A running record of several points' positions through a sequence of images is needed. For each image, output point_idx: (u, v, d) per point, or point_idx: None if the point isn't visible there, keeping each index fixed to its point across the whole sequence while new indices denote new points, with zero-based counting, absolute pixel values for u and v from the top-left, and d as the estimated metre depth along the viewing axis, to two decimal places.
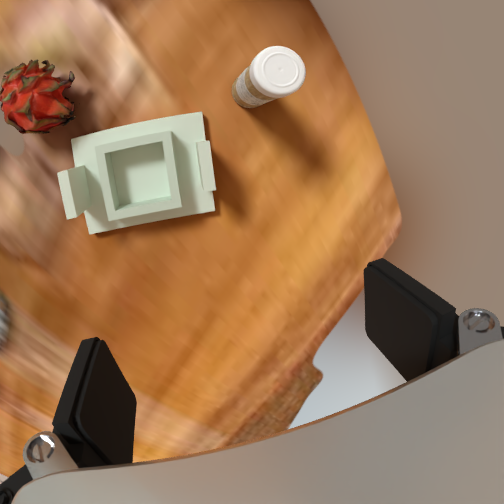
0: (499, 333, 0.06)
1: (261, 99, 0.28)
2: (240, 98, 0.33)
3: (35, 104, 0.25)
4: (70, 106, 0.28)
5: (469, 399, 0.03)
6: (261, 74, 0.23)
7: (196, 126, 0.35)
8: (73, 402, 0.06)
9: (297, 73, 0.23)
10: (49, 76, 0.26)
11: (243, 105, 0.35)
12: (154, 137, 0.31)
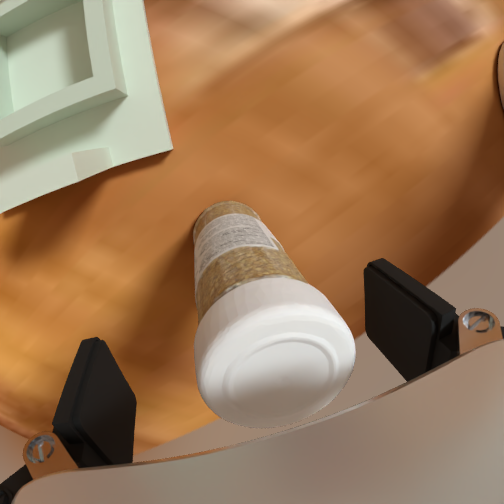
0: (499, 333, 0.06)
1: (196, 293, 0.12)
2: (205, 225, 0.17)
3: None
4: None
5: (469, 399, 0.03)
6: (257, 337, 0.07)
7: (140, 143, 0.16)
8: (73, 402, 0.06)
9: (276, 415, 0.09)
10: None
11: (195, 228, 0.19)
12: (101, 59, 0.12)
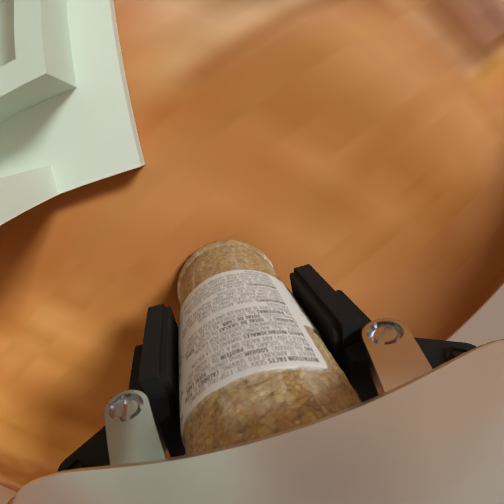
0: (411, 338, 0.07)
1: (182, 435, 0.06)
2: (193, 286, 0.11)
3: None
4: None
5: (469, 399, 0.03)
6: None
7: (94, 158, 0.10)
8: (158, 358, 0.08)
9: None
10: None
11: (180, 281, 0.13)
12: (29, 31, 0.06)
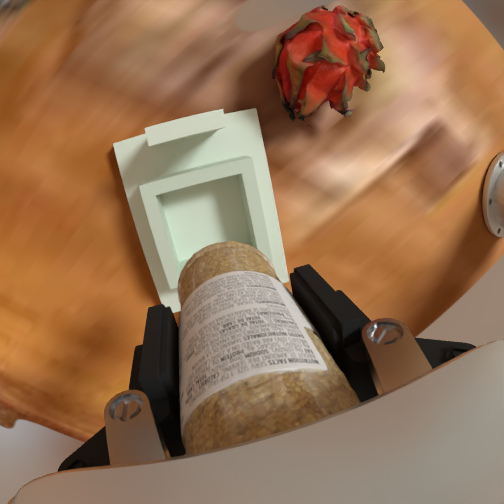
0: (411, 338, 0.07)
1: (183, 437, 0.06)
2: (193, 287, 0.11)
3: (328, 68, 0.20)
4: (310, 114, 0.23)
5: (469, 399, 0.03)
6: None
7: None
8: (158, 358, 0.08)
9: None
10: (356, 85, 0.22)
11: (181, 282, 0.13)
12: (263, 243, 0.25)
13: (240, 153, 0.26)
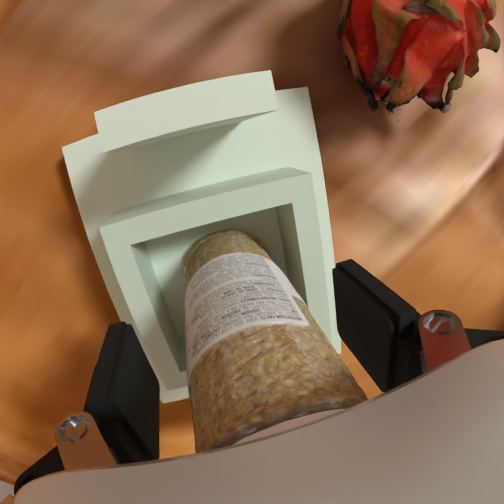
0: (463, 332, 0.06)
1: (189, 386, 0.08)
2: (198, 268, 0.13)
3: (439, 29, 0.09)
4: None
5: (469, 399, 0.03)
6: None
7: None
8: (107, 381, 0.07)
9: None
10: None
11: (186, 266, 0.15)
12: (321, 319, 0.15)
13: (281, 163, 0.15)
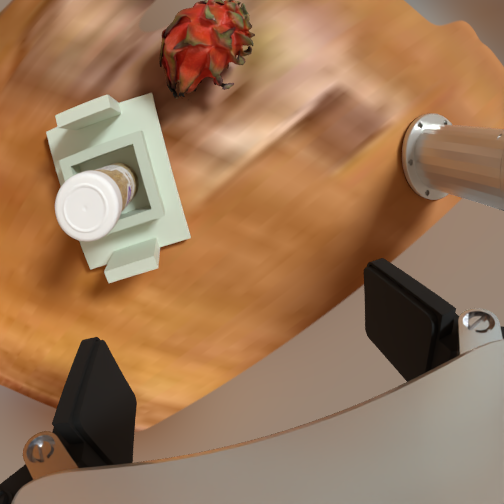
0: (499, 333, 0.06)
1: None
2: None
3: (194, 50, 0.23)
4: (189, 91, 0.27)
5: (469, 399, 0.03)
6: (72, 185, 0.17)
7: (173, 235, 0.34)
8: (74, 402, 0.06)
9: (86, 230, 0.19)
10: (229, 61, 0.26)
11: None
12: (154, 200, 0.29)
13: (140, 130, 0.29)
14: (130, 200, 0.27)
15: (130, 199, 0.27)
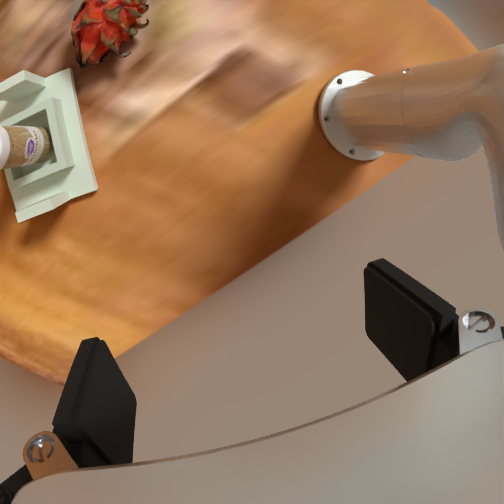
0: (499, 333, 0.06)
1: None
2: None
3: (90, 28, 0.24)
4: (91, 62, 0.27)
5: (469, 399, 0.03)
6: None
7: (81, 187, 0.34)
8: (73, 402, 0.06)
9: None
10: (123, 32, 0.26)
11: None
12: (59, 154, 0.29)
13: (58, 98, 0.30)
14: (38, 153, 0.28)
15: (37, 152, 0.27)
